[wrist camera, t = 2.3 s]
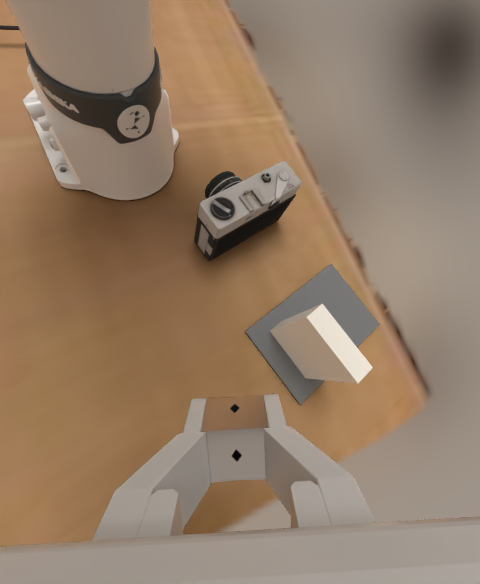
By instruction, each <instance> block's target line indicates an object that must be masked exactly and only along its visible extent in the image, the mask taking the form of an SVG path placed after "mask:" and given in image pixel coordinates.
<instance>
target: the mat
mask: <svg viewBox="0 0 480 584" xmlns="http://www.w3.org/2000/svg"><path fill="white" fill-rule="evenodd" d="M320 304H323V305H324V306H325V307H326V309H327V310H328V311H329V312H330V314H331V315H332V316H333V318H334V319H335V320H336V321H337V323H338V324H339V325H340V326H341V328H342V329H343V330H344V332H345V333H346V334H347V335H348V337H349V338H350V339H351V340H352V342H353V343H354V344H355V346H356V347H358V346H359V345H360V344H361V343H362V342H363V341H364V340H365V339H366V338H367V337H368V336H369V335H370V334H371V333H372V332H373V331H374V330H375V329H376V328H377V327H378V326H379V325H380V324H379V323H378V322H377V320H376V319H375V318H374V317H373V315H372V314H371V313H370V312H369V310H368V309H367V308H366V307H365V305H364V304H363V303H362V302H361V300H360V299H359V298H358V297H357V295H356V294H355V293H354V292H353V290H352V289H351V288H350V287H349V285H348V284H347V283H346V282H345V280H344V279H343V278H342V277H341V275H340V274H339V273H338V272H337V270H336V269H335V268H334V267H333V265H332V264H330V265H329V266H328V267H326V268H325V269H324V270H323V271H321V272H320V273H319V274H318V275H316V276H315V277H314V278H313V279H311V280H310V281H309V282H307V283H306V284H305V285H304V286H302V287H301V288H300V289H299V290H297V291H296V292H295V293H293V294H292V295H291V296H290V297H288V298H287V299H286V300H285V301H283V302H282V303H281V304H280V305H278V306H277V307H276V308H274V309H273V310H272V311H271V312H269V313H268V314H267V315H266V316H264V317H263V318H262V319H260V320H259V321H258V322H257V323H255V324H254V325H253V326H252V327H250V328H249V329H248V330H247V331H245V333H246V334H247V335H248V337H249V338H250V339H251V341H252V342H253V343H254V345H255V346H256V347H257V349H258V350H259V351H260V353H261V354H262V355H263V357H264V358H265V359H266V361H267V362H268V363H269V365H270V366H271V367H272V369H273V370H274V371H275V373H276V374H277V375H278V377H279V378H280V379H281V381H282V382H283V383H284V385H285V386H286V387H287V389H288V390H289V391H290V393H291V394H292V395H293V397H294V398H295V399H296V401H297V402H298V403H299V404H300V405H301V404H302V403H303V402H304V401H305V400H306V399H307V398H308V397H309V395H310V394H311V393H312V392H313V391H314V390H315V389H316V388H317V387H318V386H319V385H320V384H321V383H322V382H323V381H324V380H318V379H308V378H305V377H304V376H303V374H302V373H301V372H300V370H299V369H298V368H297V366H296V365H295V364H294V362H293V361H292V360H291V359H290V357H289V356H288V355H287V353H286V352H285V351H284V349H283V348H282V347H281V345H280V344H279V343H278V341H277V340H276V339H275V337H274V336H273V335H272V333H271V332H270V330H271V329H273V328H274V327H275V326H276V325H277V324H279V323H280V322H281V321H283V320H285V319H287V318H290V317H292V316H294V315H297V314H299V313H302V312H304V311H306V310H309V309H311V308H313V307H316V306H318V305H320Z"/></svg>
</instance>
